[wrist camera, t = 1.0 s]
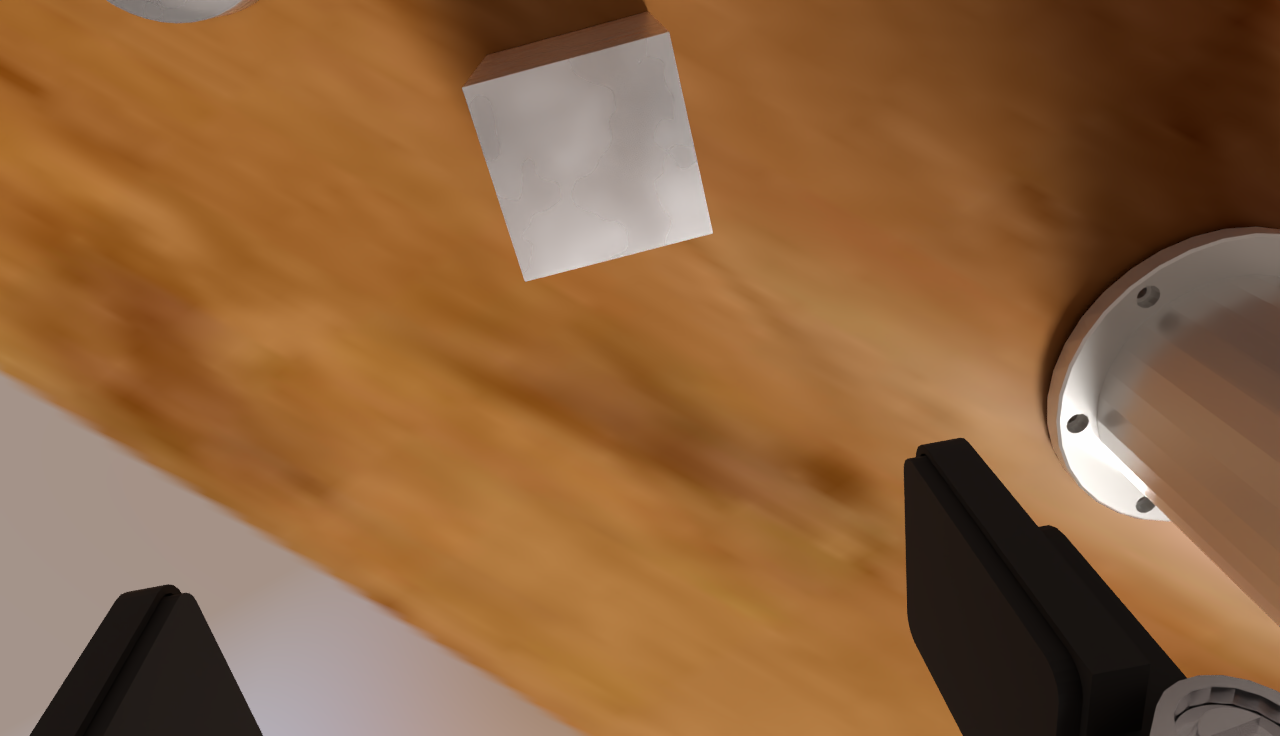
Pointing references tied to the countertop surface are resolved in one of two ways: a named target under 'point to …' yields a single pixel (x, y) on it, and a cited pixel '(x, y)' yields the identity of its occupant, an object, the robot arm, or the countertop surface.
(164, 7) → the ratchet
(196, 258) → the countertop surface
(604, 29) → the white block
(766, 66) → the countertop surface
